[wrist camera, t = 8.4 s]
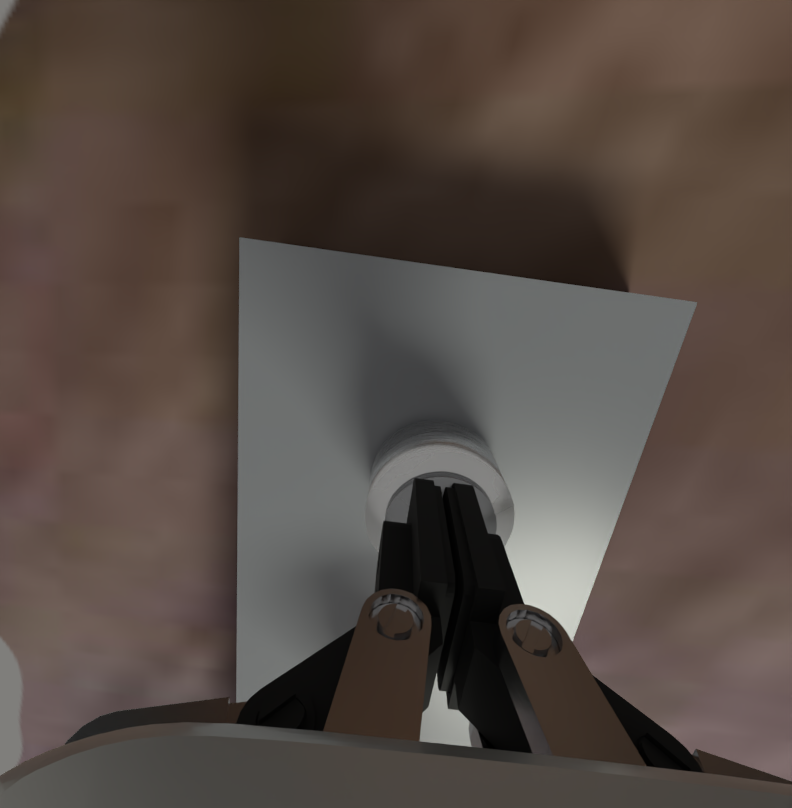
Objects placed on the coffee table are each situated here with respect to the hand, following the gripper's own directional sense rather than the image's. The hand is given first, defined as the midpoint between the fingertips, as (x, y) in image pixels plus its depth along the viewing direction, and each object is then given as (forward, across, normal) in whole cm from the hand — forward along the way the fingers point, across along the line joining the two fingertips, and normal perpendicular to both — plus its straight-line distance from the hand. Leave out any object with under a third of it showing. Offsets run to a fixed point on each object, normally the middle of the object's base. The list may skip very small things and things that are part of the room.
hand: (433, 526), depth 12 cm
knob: (+6, 0, 0) cm, 6 cm away
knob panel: (+7, 0, +11) cm, 13 cm away
